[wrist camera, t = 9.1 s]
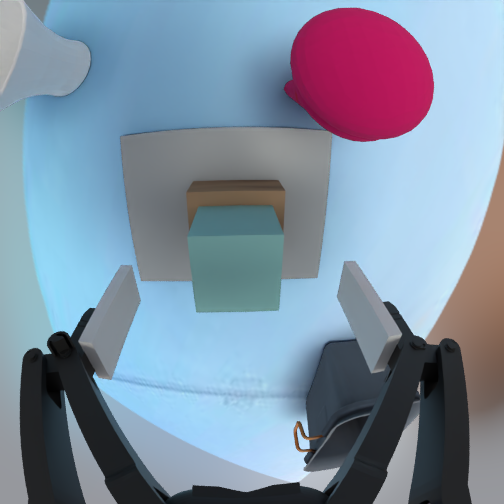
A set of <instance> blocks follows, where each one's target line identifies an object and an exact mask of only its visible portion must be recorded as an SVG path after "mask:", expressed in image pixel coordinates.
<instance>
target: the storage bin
mask: <svg viewBox="0 0 504 504" xmlns="http://www.w3.org/2000/svg"><path fill="white" fill-rule="evenodd" d="M389 371H390V367H389V365H388V364H387V366H386V368H385V370H384V371H382V372H377V373H372V374H371V372H370V369H369V367H368V365H367V362H366V360H365V358H364V355H363V353H362V351H361V348H360V346H359V344H358V342H357V341H347V342H335V343H330V344H328V345H326V347H325V348H324V352H323V355H322V358H321V361H320V364H319V367H318V370H317V373H316V376H315V379H314V381H313V384H312V387H311V389H310V392H309V394H308V397H307V399H306V410H307V420H308V430H309V437H307V436H306V435H305V433H304V430H303V427H302V424H301V422H300V421H297V423H296V425H295V427H294V439H295V445H296V449H297V450H298V451H300V452H308V453H307V455H306V456H305V458H304V461H305V463H306V464H307V465H306V467H305V468H304V471H308V472H314V471H321V470H326V469H333V468H337V467H341V466H342V464H343V462H344V461H345V459H346V457H347V456H348V454H349V452H350V451H351V449H352V447H353V445H354V444H355V442H356V440H357V438H358V436H359V435H360V433H361V431H362V429H363V427H364V425H365V423H366V421H367V419H368V417H369V415H370V413H371V411H372V409H373V407H374V405H375V403H376V401H377V398H378V396H379V394H380V392H381V389H382V387H383V385H384V380H385V378H386V376H387V375H388V373H389ZM419 414H420V394H419V392H418V391H417V392H416V395H415V398H414V401H413V404H412V407H411V410H410V413H409V416H408V419H407V422H406V424H405V427H404V429H405V428H406V427H407V426H408V425H409V424H410V423H411V422H412V421H413V420H414V419H415V418H416V417H417V416H418V415H419ZM298 426H299V429H300V432H301V435H302V437H303V438H304V439H307V440H309V442H310V449H305V450H302V449H300V447H299V443H298V437H297V428H298ZM404 429H403V430H404Z"/></svg>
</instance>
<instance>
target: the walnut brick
mask: <svg viewBox="0 0 504 504" xmlns="http://www.w3.org/2000/svg"><path fill="white" fill-rule="evenodd" d="M285 192H286V191H285V189H284V188H283V186H282V185H281V183H280V182H279V180H216V181H193V182H192V184H191V185H190V187H189V189H188V190H187V192H186V198H187V212H188V224H189V231H190V228H191V225H192V222H193V220H194V217H195V214H196V212H197V209H198V207H199V206H233V205H272V206H273V208H274V211H275V213H276V216H277V218H278V221H279V223H280V226H281V228H282V231H283V230H284V212H285Z"/></svg>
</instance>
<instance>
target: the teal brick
mask: <svg viewBox="0 0 504 504" xmlns="http://www.w3.org/2000/svg"><path fill="white" fill-rule="evenodd" d="M187 239H188V249H189V258H190V267H191V275H192V283H193V291H194V299H195V306H196V312H251V311H277V310H279V302H280V289H281V275H282V260H283V245H284V233H283V231H282V228H281V226H280V223H279V221H278V218H277V216H276V213H275V211H274V208H273V206H272V205H233V206H199V207H198V209H197V212H196V214H195V217H194V220H193V222H192V225H191V228H190V231H189V233H188V236H187Z"/></svg>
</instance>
